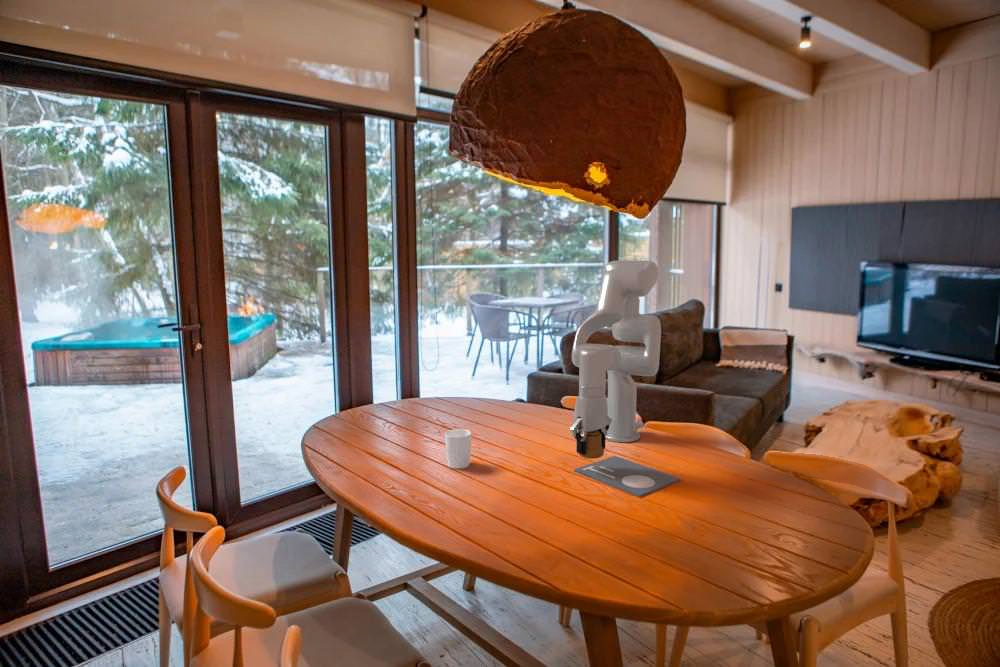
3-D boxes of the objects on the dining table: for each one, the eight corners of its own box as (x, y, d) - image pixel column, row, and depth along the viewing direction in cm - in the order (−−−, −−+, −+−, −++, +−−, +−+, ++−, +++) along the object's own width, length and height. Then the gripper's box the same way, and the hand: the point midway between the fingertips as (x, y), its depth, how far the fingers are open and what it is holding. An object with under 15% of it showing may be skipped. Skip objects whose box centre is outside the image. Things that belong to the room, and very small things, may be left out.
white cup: (465, 471, 184) (465, 438, 183) (441, 468, 187) (440, 435, 185) (475, 461, 192) (474, 430, 190) (451, 459, 194) (451, 428, 192)
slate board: (614, 457, 194) (614, 455, 194) (680, 480, 176) (680, 478, 176) (573, 471, 183) (573, 469, 183) (639, 497, 165) (639, 494, 165)
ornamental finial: (584, 449, 187) (607, 453, 184) (573, 456, 181) (598, 461, 177) (584, 423, 186) (608, 427, 182) (574, 429, 180) (598, 433, 176)
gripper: (602, 384, 188) (601, 441, 190) (561, 393, 177) (560, 453, 180) (622, 389, 182) (620, 447, 185) (580, 398, 171) (579, 460, 174)
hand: (590, 450), depth 182 cm, fingers closed on ornamental finial, 7 cm apart
